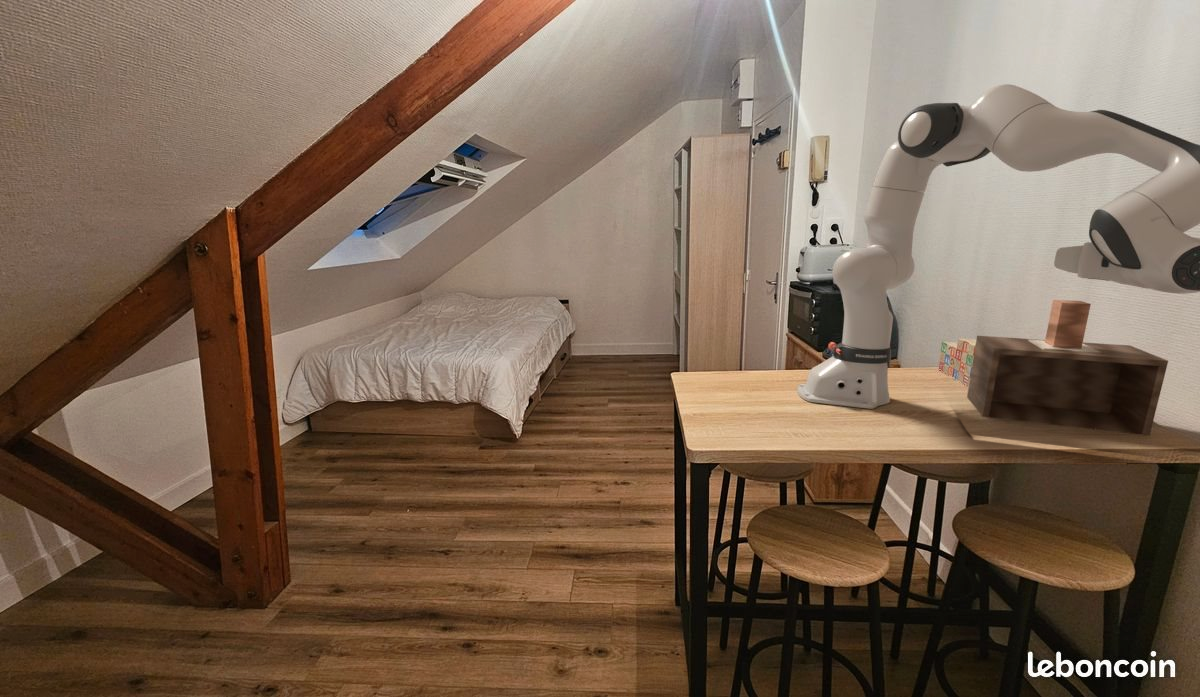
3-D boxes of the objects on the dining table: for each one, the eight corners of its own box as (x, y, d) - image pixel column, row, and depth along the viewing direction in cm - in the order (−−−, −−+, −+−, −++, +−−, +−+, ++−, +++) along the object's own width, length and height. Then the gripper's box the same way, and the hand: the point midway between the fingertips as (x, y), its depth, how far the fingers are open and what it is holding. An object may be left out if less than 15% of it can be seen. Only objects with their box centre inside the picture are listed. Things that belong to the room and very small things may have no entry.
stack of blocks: (937, 370, 165) (943, 331, 162) (959, 371, 164) (965, 332, 161) (973, 391, 144) (980, 347, 141) (998, 392, 143) (1006, 348, 140)
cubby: (981, 420, 122) (994, 347, 118) (966, 400, 136) (977, 334, 132) (1148, 439, 111) (1168, 359, 107) (1113, 416, 124) (1130, 344, 120)
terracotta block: (1053, 346, 118) (1061, 302, 116) (1044, 342, 122) (1053, 299, 120) (1081, 348, 116) (1090, 303, 114) (1071, 344, 121) (1080, 300, 118)
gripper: (1233, 243, 87) (1182, 241, 99) (1076, 242, 94) (1047, 240, 107) (1223, 281, 88) (1174, 274, 101) (1069, 277, 96) (1041, 271, 108)
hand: (1107, 257), depth 104 cm, fingers open, 8 cm apart
